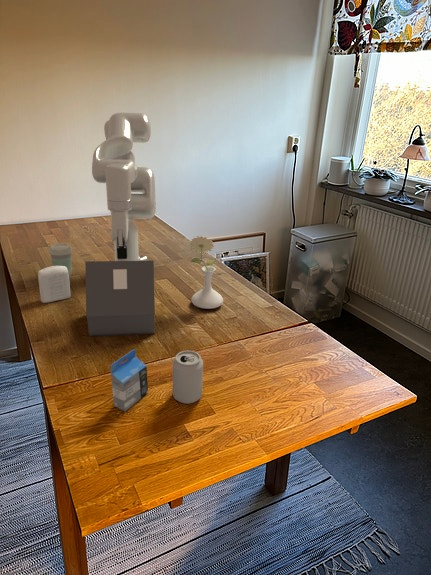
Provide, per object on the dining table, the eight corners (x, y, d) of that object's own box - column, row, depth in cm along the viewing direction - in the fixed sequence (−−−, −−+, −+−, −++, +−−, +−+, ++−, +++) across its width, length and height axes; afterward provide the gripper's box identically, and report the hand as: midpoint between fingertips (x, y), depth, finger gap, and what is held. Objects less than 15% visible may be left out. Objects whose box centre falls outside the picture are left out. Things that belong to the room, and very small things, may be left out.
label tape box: (125, 412, 109) (122, 370, 104) (112, 406, 111) (109, 364, 106) (148, 393, 116) (147, 352, 111) (136, 387, 118) (134, 347, 113)
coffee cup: (79, 273, 181) (76, 244, 176) (66, 281, 174) (62, 252, 169) (61, 269, 184) (57, 241, 178) (47, 277, 176) (43, 248, 171)
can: (172, 387, 119) (172, 348, 113) (201, 386, 119) (202, 348, 114) (172, 406, 112) (172, 366, 107) (202, 405, 112) (204, 365, 107)
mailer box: (94, 311, 153) (92, 293, 150) (153, 309, 156) (153, 291, 153) (88, 336, 139) (87, 316, 136) (154, 333, 142) (154, 314, 139)
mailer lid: (85, 261, 137) (85, 261, 137) (153, 260, 140) (153, 260, 140) (86, 316, 136) (86, 316, 135) (154, 314, 139) (154, 314, 138)
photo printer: (68, 293, 165) (65, 262, 159) (72, 298, 162) (69, 266, 156) (39, 299, 160) (35, 267, 154) (43, 304, 156) (38, 271, 151)
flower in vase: (228, 301, 164) (231, 235, 153) (214, 314, 155) (217, 245, 144) (196, 293, 169) (197, 229, 158) (181, 306, 159) (181, 238, 149)
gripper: (109, 198, 150) (112, 250, 158) (105, 210, 137) (109, 266, 144) (132, 198, 151) (134, 250, 159) (130, 210, 138) (133, 266, 145)
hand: (122, 257), depth 152 cm, fingers closed
